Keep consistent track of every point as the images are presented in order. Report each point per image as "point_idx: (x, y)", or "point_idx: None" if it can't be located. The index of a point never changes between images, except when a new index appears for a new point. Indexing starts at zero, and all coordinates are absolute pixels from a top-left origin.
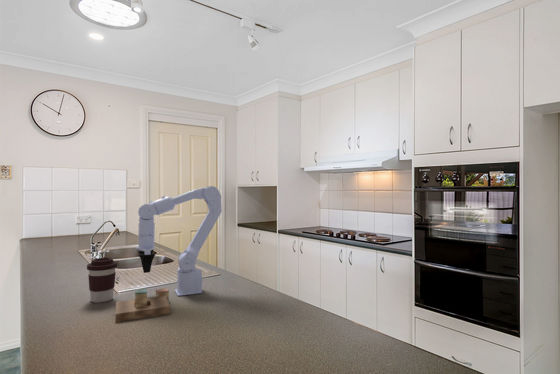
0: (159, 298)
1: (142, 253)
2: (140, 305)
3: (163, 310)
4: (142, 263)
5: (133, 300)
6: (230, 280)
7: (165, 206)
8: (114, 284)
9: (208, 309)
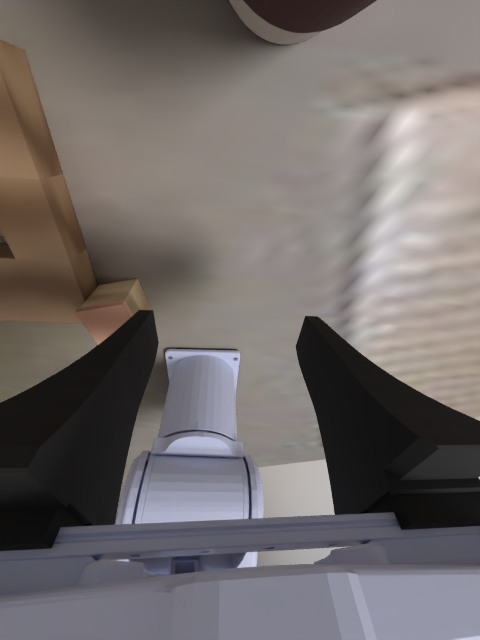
0: (51, 298)
1: (370, 438)
2: None
3: None
4: (71, 364)
5: (21, 174)
6: (258, 452)
7: None
8: (283, 22)
9: (14, 389)
